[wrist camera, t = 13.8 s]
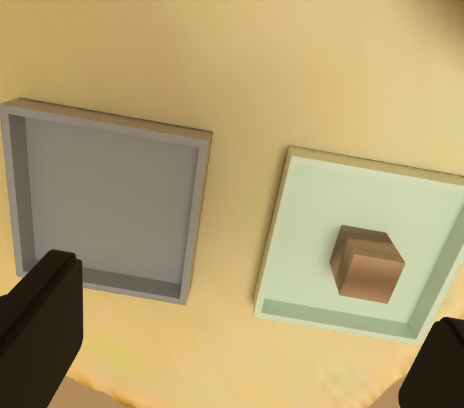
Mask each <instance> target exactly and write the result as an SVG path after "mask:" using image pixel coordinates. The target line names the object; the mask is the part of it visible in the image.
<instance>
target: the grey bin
mask: <svg viewBox="0 0 464 408" xmlns="http://www.w3.org/2000/svg"><path fill="white" fill-rule="evenodd" d="M0 119H1V129H2V138H3V148H4V158H5V167H6V177H7V187H8V196H9V206H10V216H11V226H12V235H13V245H14V255H15V264H16V274H17V276H19V277H24V276H25V275H26V274H27V273H28V272H29V271H30V270H31V269H32V268H33V267H34V266H35V265H36V264H37V263H38V262H39V261H40V260H41V259H42V258H43V256H44V255H45V254H46V253H47V252H48V251H50V250H51V249H55V250H61V251H67V252H73V253H75V255H76V259H80V260H81V261H82V275H83V288H88V289H94V290H100V291H106V292H111V293H117V294H123V295H129V296H135V297H140V298H146V299H152V300H158V301H164V302H169V303H175V304H181V305H186V302H187V299H188V295H189V291H190V287H191V281H192V274H193V267H194V260H195V253H196V246H197V239H198V232H199V225H200V218H201V211H202V204H203V197H204V189H205V182H206V175H207V168H208V161H209V154H210V147H211V140H212V133H213V132H210V131H205V130H199V129H193V128H188V127H182V126H177V125H171V124H165V123H160V122H154V121H148V120H143V119H137V118H131V117H126V116H120V115H114V114H109V113H103V112H97V111H92V110H86V109H80V108H75V107H69V106H63V105H58V104H52V103H46V102H41V101H35V100H29V99H24V98H18V99H15V100H11V101H8V102H4V103H1V104H0Z"/></svg>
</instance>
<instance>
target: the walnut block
mask: <svg viewBox="0 0 464 408" xmlns="http://www.w3.org/2000/svg"><path fill="white" fill-rule="evenodd" d="M329 263H330V266H331V270H332V273H333V276H334V279H335V283H336V286H337V289H338V293H339V295H340V296H346V297H351V298H357V299H363V300H368V301H374V302H379V303H385V304H388V302H389V300H390V298H391V296H392V293H393V291H394V289H395V286H396V284H397V282H398V280H399V277H400V275H401V273H402V271H403V268H404V266H405V264H406V263H405V261H404V260H403V258H402V257H401V255H400V254H399V252H398V250H397V249H396V247H395V246H394V244H393V242H392V241H391V239H390V238H389V236H388V234H387V233H385V232H380V231H374V230H369V229H363V228H358V227H352V226H347V225H342V226H341V229H340V232H339V235H338V238H337V240H336V243H335V246H334V249H333V252H332V255H331V258H330V261H329Z"/></svg>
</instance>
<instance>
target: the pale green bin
mask: <svg viewBox="0 0 464 408" xmlns="http://www.w3.org/2000/svg"><path fill="white" fill-rule="evenodd" d="M342 225H347V226H352V227H358V228H363V229H369V230H374V231H380V232H385V233H387V234H388V236H389V238H390V239H391V241H392V242H393V244H394V246H395V247H396V249H397V250H398V252H399V254H400V255H401V257H402V258H403V260H404V261H405V263H406V264H405V266H404V268H403V271H402V273H401V275H400V277H399V280H398V282H397V284H396V286H395V289H394V291H393V293H392V296H391V298H390V300H389V302H388V304H385V303H379V302H374V301H368V300H363V299H357V298H351V297H346V296H340V295H339V293H338V289H337V286H336V283H335V279H334V276H333V273H332V270H331V266H330V263H329V261H330V258H331V255H332V252H333V249H334V246H335V243H336V240H337V238H338V235H339V232H340V229H341V226H342ZM463 261H464V176H459V175H454V174H448V173H442V172H437V171H431V170H425V169H420V168H414V167H408V166H403V165H397V164H391V163H386V162H380V161H374V160H369V159H363V158H358V157H352V156H346V155H341V154H335V153H329V152H324V151H318V150H312V149H307V148H301V147H295V146H290V145H289V148H288V152H287V156H286V161H285V165H284V169H283V173H282V178H281V182H280V186H279V191H278V195H277V199H276V203H275V208H274V212H273V216H272V220H271V225H270V229H269V233H268V237H267V242H266V246H265V250H264V254H263V259H262V263H261V267H260V272H259V276H258V280H257V284H256V289H255V293H254V297H253V317H256V318H262V319H268V320H274V321H280V322H285V323H291V324H297V325H303V326H309V327H314V328H320V329H326V330H332V331H338V332H343V333H349V334H355V335H361V336H367V337H372V338H378V339H384V340H390V341H396V342H401V343H407V344H413V345H419V346H420V345H421V343H422V341H423V339H424V337H425V335H426V333H427V331H428V329H429V327H430V325H431V323H432V321H433V319H434V317H435V315H436V314H437V312H438V310H439V308H440V306H441V304H442V302H443V300H444V298H445V296H446V294H447V292H448V290H449V288H450V286H451V284H452V282H453V280H454V278H455V276H456V274H457V272H458V270H459V268H460V266H461V264H462V263H463Z"/></svg>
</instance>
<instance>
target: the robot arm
mask: <svg viewBox="0 0 464 408" xmlns="http://www.w3.org/2000/svg"><path fill="white" fill-rule="evenodd" d="M82 341H83V275H82V261H81V260H80V259H76V255H75V253H73V252H67V251H61V250H55V249H51V250H50V251H48V252H47V253H46V254H45V255H44V256H43V258H42V259H41V260H40V261H39V262H38V263H37V264H36V265H35V266H34V267H33V268H32V269H31V270H30V271H29V272H28V273H27V274H26V275H25V276H24V278H23V279H22V280H21V281H20V282H19V283H18V284H17V285H16V286H15V287H14V288H13V289H12V290H11V291H10V292H9V293H8V294H7V295H3V296H1V297H0V408H47V407H48V405H49V403H50V402H51V400H52V398H53V396H54V394H55V393H56V391H57V389H58V387H59V386H60V384H61V382H62V380H63V378H64V377H65V375H66V373H67V371H68V369H69V368H70V366H71V364H72V362H73V361H74V359H75V357H76V355H77V353H78V352H79V350H80V347H81V345H82ZM398 399H399V405H400V407H401V408H464V320H461V319H455V318H450V317H443V318H442V319H441V320H440V321H436V322H435V323H434V324H433V326H432V328H431V330H430V332H429V333H428V335H427V337H426V339H425V341H424V343H423V345H422V347H421V349H420V351H419V353H418V355H417V357H416V359H415V361H414V363H413V365H412V367H411V368H410V370H409V372H408V374H407V376H406V378H405V380H404V382H403V384H402V386H401V388H400V390H399V395H398Z"/></svg>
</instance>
